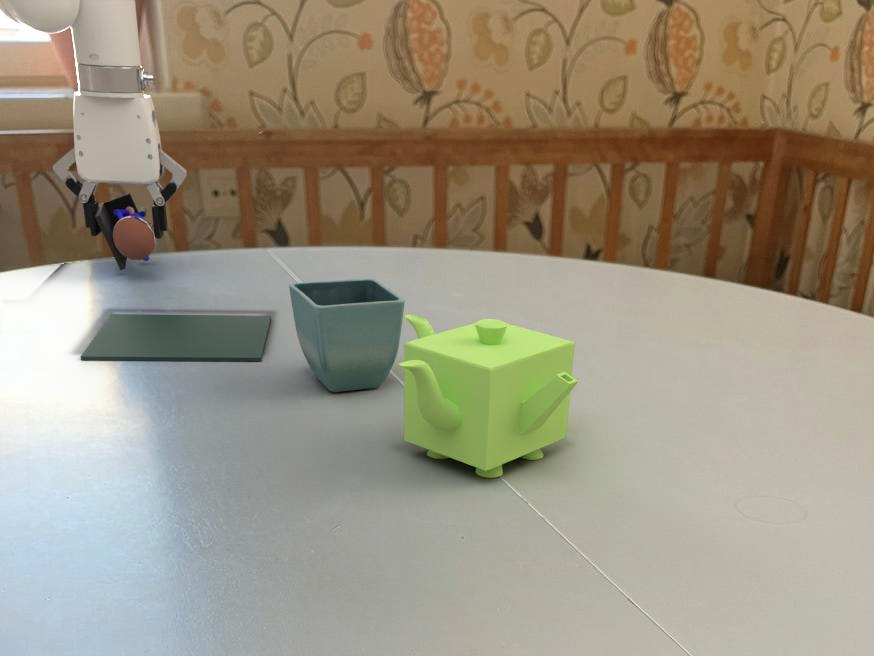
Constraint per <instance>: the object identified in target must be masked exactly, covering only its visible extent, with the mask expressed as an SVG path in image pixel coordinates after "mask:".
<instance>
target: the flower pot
mask: <svg viewBox="0 0 874 656" xmlns="http://www.w3.org/2000/svg"><path fill="white" fill-rule="evenodd" d="M288 288H289V295H290V302H291V308H292V313H293V314H292V315H293V321H294V327H295V331H296V336H297V340H298V343H299V346H300V349H301V352H302V354H303V356H304V358H305V360H306V362H307V364H308V366H309V367H310V369H311V371H312V373H313V374H314V376H315V377H316V379H318V381H320V382H321V383H322V385H324V386H325V388H326V389H327V390H328V391H330V392H332V393H341V392H348V391H356V390H367V389H376V388H379V387H381V385H382V384H383V383H384V381H385V380H386V379H387V377H388V375H389V373H390V372H391V370H392V368H393V366H394V363H395V361H396V359H397V355H398V351H399V347H400V341H401V333H402V327H403V318H404V310H405V302H406V299H405V298H404V297H402V296H401V295H399V294H398V293H396V292H394V291H393V290H391V288H389V287H387V286H386V285H384V283H381V282H380V281H379V280H377V279H375V278H357V279H356V278H355V279H340V280H339V279H338V280H324V281H323V280H322V281H321V280H320V281H305V282H304V281H303V282H302V281H301V282H293V283H288Z"/></svg>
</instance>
